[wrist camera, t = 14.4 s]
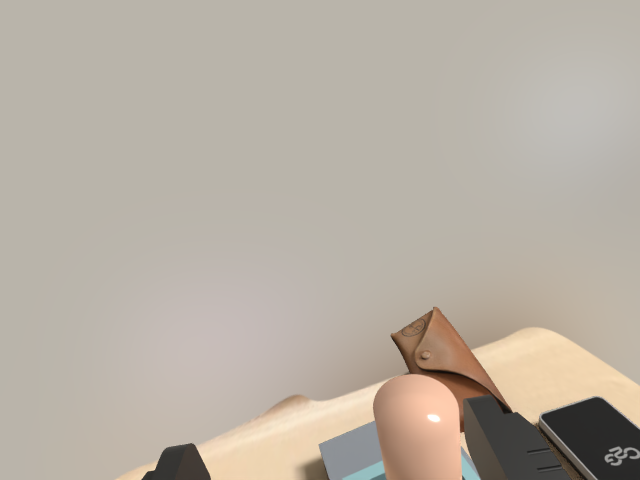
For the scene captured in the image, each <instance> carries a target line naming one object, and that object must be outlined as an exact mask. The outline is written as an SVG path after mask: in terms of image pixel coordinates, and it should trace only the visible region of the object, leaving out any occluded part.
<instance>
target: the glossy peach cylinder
mask: <svg viewBox="0 0 640 480" xmlns="http://www.w3.org/2000/svg"><path fill="white" fill-rule="evenodd" d="M373 410H374V417H375V422H376V427H377V433H378V438H379V443H380V449H381V454H382V460H383V465H384V470H385V476H386V480H462V466H461V443H460V421H459V407H458V403H457V401H456V399H455V397H454V395H453V394H452V392H451V391H450V390H449V389H448V388H447V387H446V386H445V385H444V384H442V383H441V382H439V381H437V380H435V379H433V378H431V377H428V376H424V375H417V374H408V375H402V376H398V377H395V378H393V379H391V380H389V381H388V382H386V383H385V384H384V385H383V386H382V387H381V388H380V389H379V390H378V392H377V394H376V396H375V399H374V403H373Z"/></svg>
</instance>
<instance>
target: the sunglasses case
mask: <svg viewBox="0 0 640 480" xmlns="http://www.w3.org/2000/svg"><path fill="white" fill-rule="evenodd" d="M391 337H392V340H393V341H394V343H395V344H396V346H397V347H398V349H399V350H400V352H401V354H402V356H403V358H404V360H405V363H406V365H407V367H408V369H409V372H410V374H417V375H424V376H428V377H431V378H433V379H435V380H437V381H439V382H441V383H442V384H444V385H445V386H446V387H447V388H448V389H449V390H450V391H451V392H452V394H453V395H454V397H455V399H456V401H457V403H458V407H459V421H460V433H462V432H465V431H464V413H463V399H465V398H471V397H477V396H483V395H492V396H493V398H494V399H495V400H496V402H497V404H498V405H499V407H500V409H501V410H502V412H503V414H509V413H513V412H512V410H511V408H510V407H509V406H508V404H507V403H506V401H505V400H504V398H503V397H502V395H501V394H500V392H499V391H498V389H497V388H496V386H495V384H494V383H493V381H492V380H491V379H490V377H489V376H488V374H487V373H486V371H485V370H484V368H483V367H482V366H481V364H480V363H479V361H478V360H477V359H476V357H475V356H474V355H473V353H472V352H471V350H470V349H469V348H468V346H467V345H466V344H465V342H464V341H463V340H462V338H461V337H460V335H459V334H458V333H457V331H456V330H455V329H454V327H453V326H452V325H451V324H450V322H449V321H448V320H447V319H446V318H445V316H444V315H443V314H442V313H441V311H440V310H439V309H438V308H437V307H433V310H432V311H430V312H428V313H427V314H425V315H424V316H422V317H421V318H419V319H417V320H416V321H414V322H412V323H411V324H409V325H408V326H406V327H404V328H403V329H402V330H400V331H398V332H397V333H392V334H391Z"/></svg>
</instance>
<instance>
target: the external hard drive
mask: <svg viewBox="0 0 640 480" xmlns="http://www.w3.org/2000/svg"><path fill="white" fill-rule="evenodd" d="M539 428H540V430H541V431H542V432H543V434H544V435H545V436H546V437H547V438H548V439H549V440H550V441H551V443H552V444H553V445H554V446H555V447H556V448H557V449H558V450H559V452H560V453H561V454H562V455H563V456H564V457H565V458H566V460H567V461H568V462H569V463H570V464H571V465H572V466H573V467H574V469H575V470H576V471H577V472H578V473H579V474H580V475H581V476H582V478H583V479H584V480H640V428H639V427H638V426H637V425H636V424H634V423H633V422H632V421H631V420H630V419H628V418H627V417H626V416H625V415H624V414H622V413H621V412H620V411H619V410H617V409H616V408H615V407H614V406H613V405H611V404H610V403H609V402H608V401H607V400H605V399H604V398H602V397H599V396H593V397H590V398H587V399H584V400H581V401H577V402H574V403H571V404H568V405H565V406H562V407H559V408H556V409H553V410H550V411H547V412H543V413H541V414H540V416H539Z"/></svg>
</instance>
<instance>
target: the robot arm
mask: <svg viewBox="0 0 640 480" xmlns="http://www.w3.org/2000/svg"><path fill="white" fill-rule="evenodd" d="M463 413H464V431H465V439H466V443H467V447H468V450H469V453H470V456H471V458H472V461H473V463H474V465H475V468H476V470H477V472H478V474H479V477H480V479H481V480H571V478H570V477H569V475H568V474H567V472H566V471H565V470H564V469H563V468H562V466H561V464H560V462H559V461H558V459H557V458H556V456H555V455H554V453H553V452H551V450H550V447H549V446H548V444H547V443H546V441H545V440H544V439H543V437H542V436H541V434H540V433H539V431H538V430H537V428H536V427H535V426H533V425H532V424H531V423H530V422H529V421H527V420H526V419H525V418H524V417H522V416H521V415H520V414H519V413H518V412H515V413H509V414H503V412H502V410H501V409H500V407H499V405H498V404H497V402H496V400H495V399H494V398H493V396H492V395H483V396H477V397H471V398H465V399H463ZM142 480H211V478H210V475H209V472H208V470H207V468H206V466H205V464H204V462H203V460H202V458H201V456H200V454H199V452H198V450H197V448H196V446H195V445H194V444H192V443H190V444H185V445H179V446H173V447H168V448H166V449H165V450H164V451H163V452H162V454H161V457H160V459H159V461H158V464H157V466H156V469H155V470H154V471H148V472H147V473H146V474H145V476H144V477H143V478H142Z"/></svg>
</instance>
